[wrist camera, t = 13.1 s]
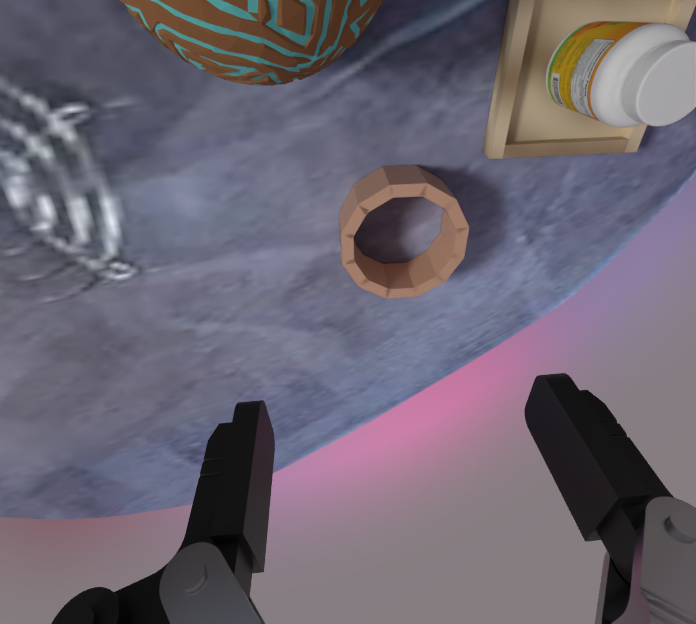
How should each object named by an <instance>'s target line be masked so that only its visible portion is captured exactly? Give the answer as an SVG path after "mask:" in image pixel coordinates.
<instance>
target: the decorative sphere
mask: <svg viewBox="0 0 696 624" xmlns="http://www.w3.org/2000/svg"><path fill="white" fill-rule="evenodd" d="M120 1H121V2H123V3H125V5H126V6H127V9H128V11H129V12H130V14H131V15H132V16H133V17H134V18H135V19H136V20H137V21H138V22H139V23H140V24H141V25H142V26H143V27H144V28H145V29H146V30H147V31H148V32H149V33H150V34H151V35H153V36H154V37H155V38H156V39H157V40H158V41H159V42H160V43H161V44H162V45H163V46H164V47H166V48H167V49H169V50H170V51H171V52H173V53H174V54H175V55H177V56H178V57H180V58H181V59H182V60H184V61H186V62H187V63H189V64H191V65H193V66H194V67H196V68H198V69H201V70H203V71H205V72H208V73H210V74H213V75H215V76H217V77H220V78H222V79H224V80H229V81H232V82H237V83H244V84H250V85H256V86H258V85H276V84H286V83H289V82H293V80H295V79H299V80H301V79H303V78H306V77H309V76H311V75H313V74H315V73H317V72H319V71H321V70H322V69H324V68H326V67H327V66H328V65H330V64H331V63H332V62H334V61H335V60H337V59H338V58H339V57H341V56H342V55H343V53H344V50H346V49H347V48H350V47H351V46H352V45H353V44H354V43H355V42H357V40H358V38H359V37H360V36H361V34H362V33H363V32H364V30H365V29H366V28H367V26H368V25H369V24H370V22H371V21H372V19H373V18H374V16H375V14H376V12H377V10H378V9H379V7H380V5H381V3H382V2H383V0H120Z"/></svg>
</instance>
